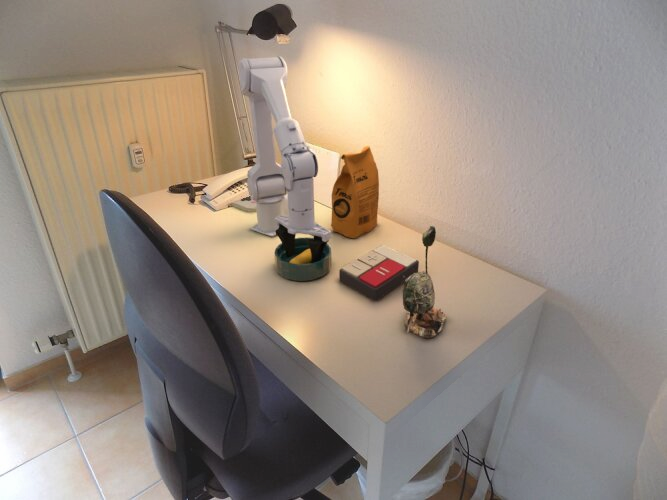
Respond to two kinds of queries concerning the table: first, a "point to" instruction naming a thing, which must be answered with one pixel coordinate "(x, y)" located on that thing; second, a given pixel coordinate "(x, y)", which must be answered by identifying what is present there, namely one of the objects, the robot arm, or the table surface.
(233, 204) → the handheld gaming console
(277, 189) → the robot arm
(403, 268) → the calculator
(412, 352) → the table surface
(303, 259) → the amber tube
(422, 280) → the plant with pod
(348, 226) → the coffee package
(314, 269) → the teal bowl
